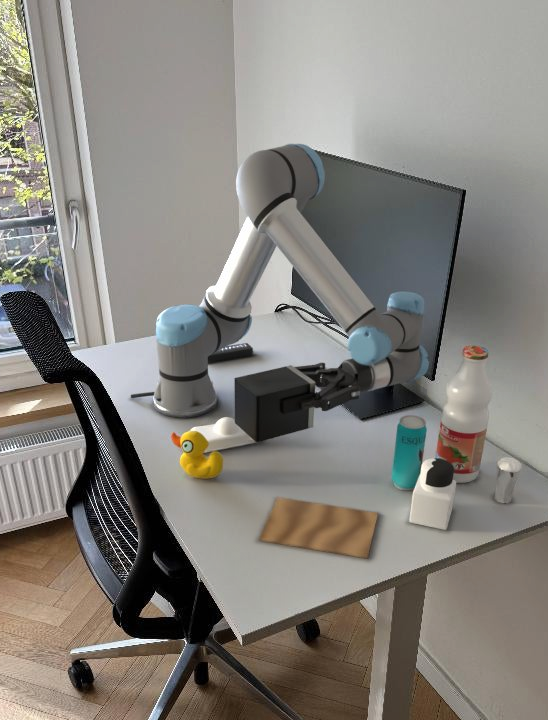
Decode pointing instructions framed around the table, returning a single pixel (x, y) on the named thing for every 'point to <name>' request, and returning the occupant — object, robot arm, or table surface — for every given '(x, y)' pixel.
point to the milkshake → (506, 478)
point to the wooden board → (320, 527)
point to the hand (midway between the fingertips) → (270, 397)
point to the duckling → (197, 455)
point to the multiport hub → (231, 353)
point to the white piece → (223, 435)
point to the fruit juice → (466, 416)
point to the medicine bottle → (433, 494)
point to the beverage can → (408, 452)
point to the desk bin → (271, 403)
